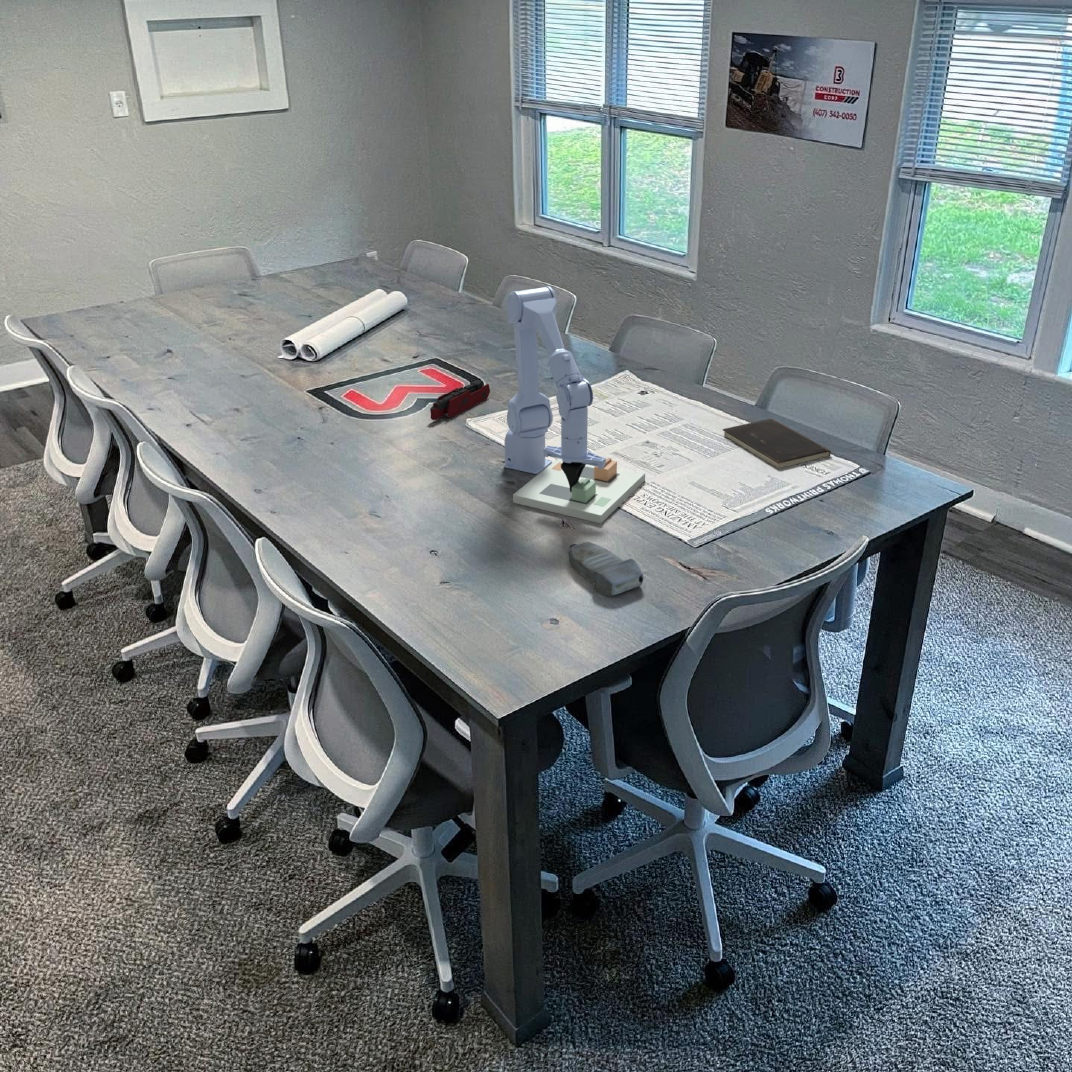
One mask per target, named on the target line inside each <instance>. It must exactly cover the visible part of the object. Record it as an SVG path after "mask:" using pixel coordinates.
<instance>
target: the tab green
mask: <svg viewBox="0 0 1072 1072" xmlns="http://www.w3.org/2000/svg"><path fill="white" fill-rule="evenodd" d="M595 494H596V482H594V481H590V478H586V479H581V480H580V481H579V482H578V483H576V484H575V485H574V486H573V487H572V500H576V501H580V502H584V503H586V502H587V501H588V500H589V499H591V498H592V497H593V496H594V495H595Z"/></svg>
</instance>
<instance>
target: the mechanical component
mask: <svg viewBox="0 0 1072 1072" xmlns="http://www.w3.org/2000/svg"><path fill="white" fill-rule="evenodd" d="M482 383H483V382H482V380H479V379H477V380H474V381H471V382H469V384H467V385H465V386H463V387H459V388H458V387H457V388H455V389H453V390H451V391H449V392H447V393H444V394H442V395H440V396H438V397H437V401H435V402H433V403H432V406H431V407H430V409H429V411H430V420H433V421H437V420H439V419H440V418H442V417H445V416H446V417H447V418H453V417H454V418H455V417H457V416H458V415H460V414H462V413H464V412H466V411H467V410H469V409H472V408H473V407H474V406H477V405H478V404H480V403H483V402H484V401H486V400H488V398H489V397H490V396H489V395H490V394H491V388H490V384H489V383H487V384H485V385H483V384H482Z"/></svg>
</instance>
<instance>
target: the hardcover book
mask: <svg viewBox="0 0 1072 1072" xmlns="http://www.w3.org/2000/svg"><path fill="white" fill-rule="evenodd" d="M722 431H723V432H724V433H723V436H724V437H726V438H728V439H729V440H731V441H733V442H734V443H736V444H737V443H738V444H737V445H740V447H742V448H744V449H746V450H747V449H748V450H747V451H749V452H751V453H752V454H754V455H755V456H757V457H759V458H760V459H762V460H764V461H765V462H767V463H769V464H770V465H772V466H774V467H775V468H777V469H782V468H786V467H789V466H790V467H791V466H793V465H794V466H795V465H798V464H802V462H803V463H806V461H807V462H809V461H814V460H818V459H822V458H826V457H831V453H832V451H831V450H830V449H828V448H826V447H825V446H823V445H821V444H819V443H818V442H815V441H814V440H812V439H811V438H808V437H806V436H804V435H803V434H801V433H799V432H797V431H796V430H794V429H792V428H791V427H788V426H786V425H785V424H783V423H781V422H779V421H777V420H775V419H774V418H772V417H771V418H768V419H767V418H766V419H763V420H757V421H753V422H748V423H744V424H740V425H735V426H731V427H726V428H723V429H722Z"/></svg>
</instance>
